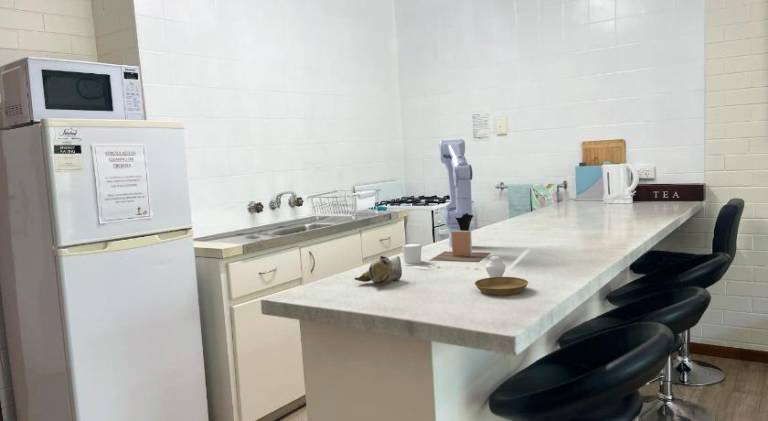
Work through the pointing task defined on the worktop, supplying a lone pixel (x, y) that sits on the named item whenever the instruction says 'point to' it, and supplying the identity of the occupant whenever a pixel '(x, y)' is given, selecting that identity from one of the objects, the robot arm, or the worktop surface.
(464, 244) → the glazed tile
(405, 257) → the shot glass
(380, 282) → the ceramic sculpture
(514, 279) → the plant saucer
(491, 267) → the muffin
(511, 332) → the worktop surface
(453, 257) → the walnut board
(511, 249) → the worktop surface
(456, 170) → the robot arm
